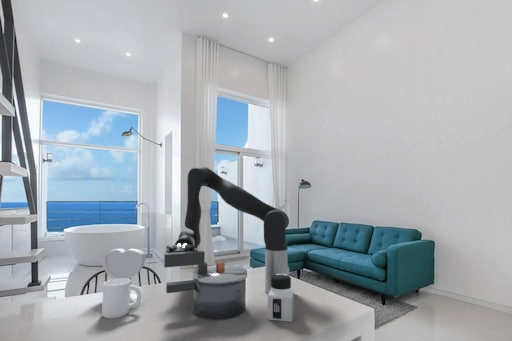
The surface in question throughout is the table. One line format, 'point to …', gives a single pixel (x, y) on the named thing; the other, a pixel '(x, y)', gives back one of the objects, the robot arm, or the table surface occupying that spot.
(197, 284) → the cooker pot
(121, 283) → the mug
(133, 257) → the heart sculpture
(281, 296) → the container
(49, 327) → the table surface
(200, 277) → the cooker lid
